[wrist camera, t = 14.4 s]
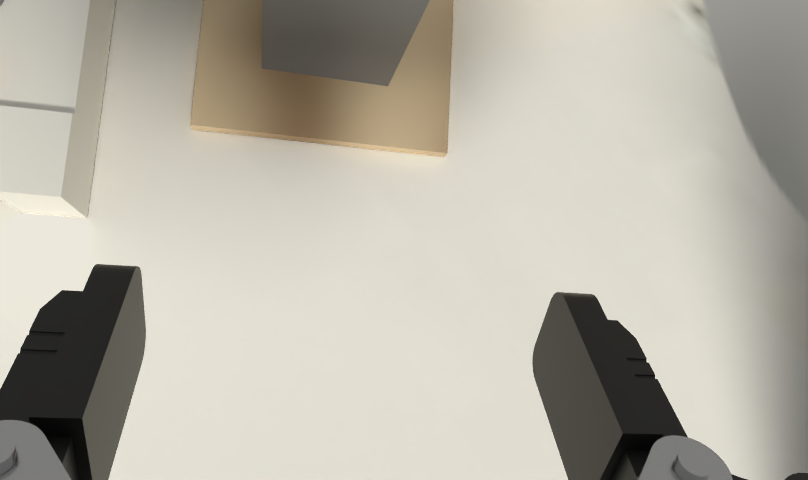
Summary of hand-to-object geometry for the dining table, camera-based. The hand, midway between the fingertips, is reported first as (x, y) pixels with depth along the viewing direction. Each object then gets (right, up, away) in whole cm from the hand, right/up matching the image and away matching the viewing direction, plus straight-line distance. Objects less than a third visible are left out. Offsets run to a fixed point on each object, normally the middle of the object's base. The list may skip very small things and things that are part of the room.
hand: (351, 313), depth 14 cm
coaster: (-2, +9, +12) cm, 15 cm away
